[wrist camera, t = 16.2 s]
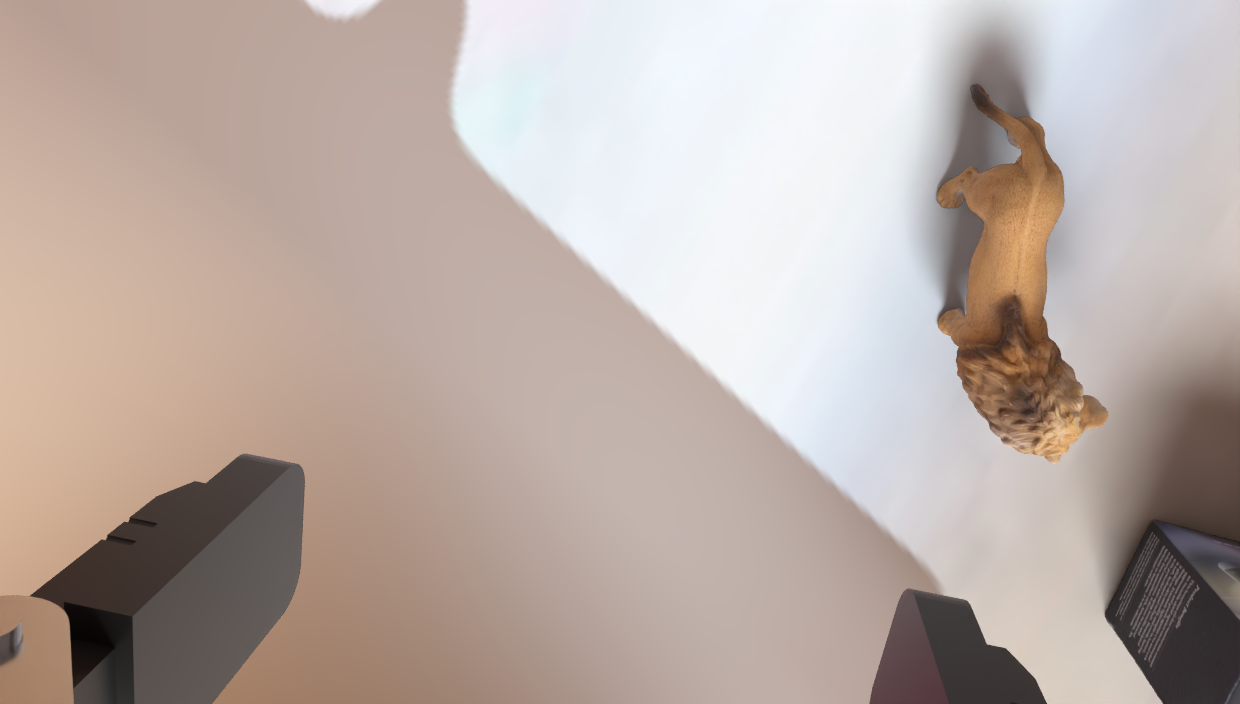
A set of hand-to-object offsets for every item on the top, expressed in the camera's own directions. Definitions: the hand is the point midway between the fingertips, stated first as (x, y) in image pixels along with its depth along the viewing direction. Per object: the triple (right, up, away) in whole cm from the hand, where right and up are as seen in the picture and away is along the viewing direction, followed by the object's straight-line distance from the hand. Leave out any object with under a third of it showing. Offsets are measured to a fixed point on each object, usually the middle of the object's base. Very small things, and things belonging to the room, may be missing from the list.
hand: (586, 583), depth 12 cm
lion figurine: (+18, +8, +31) cm, 36 cm away
